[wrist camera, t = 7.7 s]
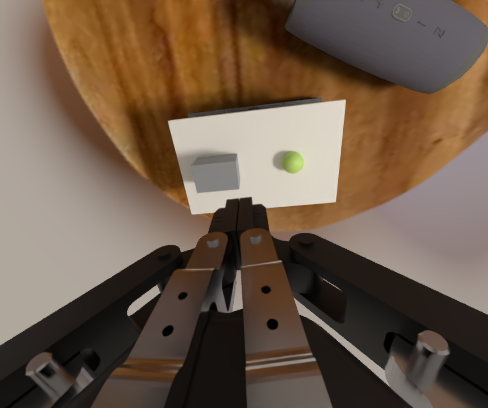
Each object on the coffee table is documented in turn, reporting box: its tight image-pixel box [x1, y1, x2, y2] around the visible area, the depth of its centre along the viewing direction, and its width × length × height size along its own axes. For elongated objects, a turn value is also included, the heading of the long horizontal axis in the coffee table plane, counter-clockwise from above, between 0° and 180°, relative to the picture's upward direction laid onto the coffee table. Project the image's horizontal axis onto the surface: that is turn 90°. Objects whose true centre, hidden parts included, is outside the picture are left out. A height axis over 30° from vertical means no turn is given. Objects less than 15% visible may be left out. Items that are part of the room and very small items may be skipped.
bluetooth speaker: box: [284, 0, 488, 94], centre depth 27 cm, size 23×9×10 cm, turn 70°
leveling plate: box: [168, 100, 346, 214], centre depth 31 cm, size 15×24×7 cm, turn 96°
